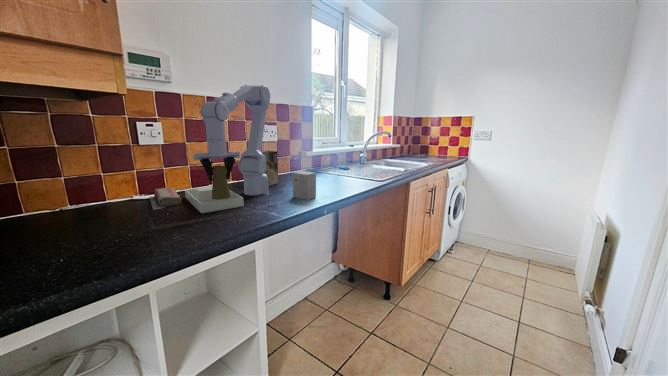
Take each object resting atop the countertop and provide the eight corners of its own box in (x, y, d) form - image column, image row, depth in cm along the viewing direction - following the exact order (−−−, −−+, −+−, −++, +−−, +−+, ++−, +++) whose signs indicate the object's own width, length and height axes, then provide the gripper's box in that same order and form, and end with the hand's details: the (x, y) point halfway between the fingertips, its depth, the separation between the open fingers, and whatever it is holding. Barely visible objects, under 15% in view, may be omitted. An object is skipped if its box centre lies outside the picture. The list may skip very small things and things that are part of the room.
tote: (223, 195, 115) (222, 185, 114) (243, 208, 98) (243, 197, 97) (185, 200, 106) (184, 190, 105) (201, 216, 90) (200, 204, 89)
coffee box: (269, 181, 142) (268, 150, 138) (278, 183, 139) (278, 151, 135) (255, 185, 134) (254, 151, 130) (265, 186, 131) (264, 152, 127)
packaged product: (147, 188, 104) (177, 185, 110) (149, 200, 106) (178, 197, 111) (151, 199, 90) (185, 195, 96) (153, 213, 92) (187, 209, 97)
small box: (316, 197, 115) (316, 172, 113) (307, 200, 111) (308, 174, 108) (301, 194, 119) (301, 170, 117) (292, 197, 115) (292, 172, 112)
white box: (217, 195, 110) (217, 185, 109) (222, 198, 106) (222, 188, 105) (196, 198, 105) (195, 188, 104) (200, 202, 101) (199, 191, 100)
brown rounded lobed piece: (221, 200, 91) (218, 166, 89) (207, 198, 94) (204, 166, 92) (234, 196, 97) (232, 165, 95) (221, 195, 99) (218, 164, 97)
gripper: (195, 141, 84) (199, 184, 87) (242, 140, 93) (244, 179, 96) (190, 139, 89) (193, 180, 92) (234, 138, 98) (236, 176, 102)
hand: (219, 180), depth 95 cm, fingers closed on brown rounded lobed piece, 5 cm apart
